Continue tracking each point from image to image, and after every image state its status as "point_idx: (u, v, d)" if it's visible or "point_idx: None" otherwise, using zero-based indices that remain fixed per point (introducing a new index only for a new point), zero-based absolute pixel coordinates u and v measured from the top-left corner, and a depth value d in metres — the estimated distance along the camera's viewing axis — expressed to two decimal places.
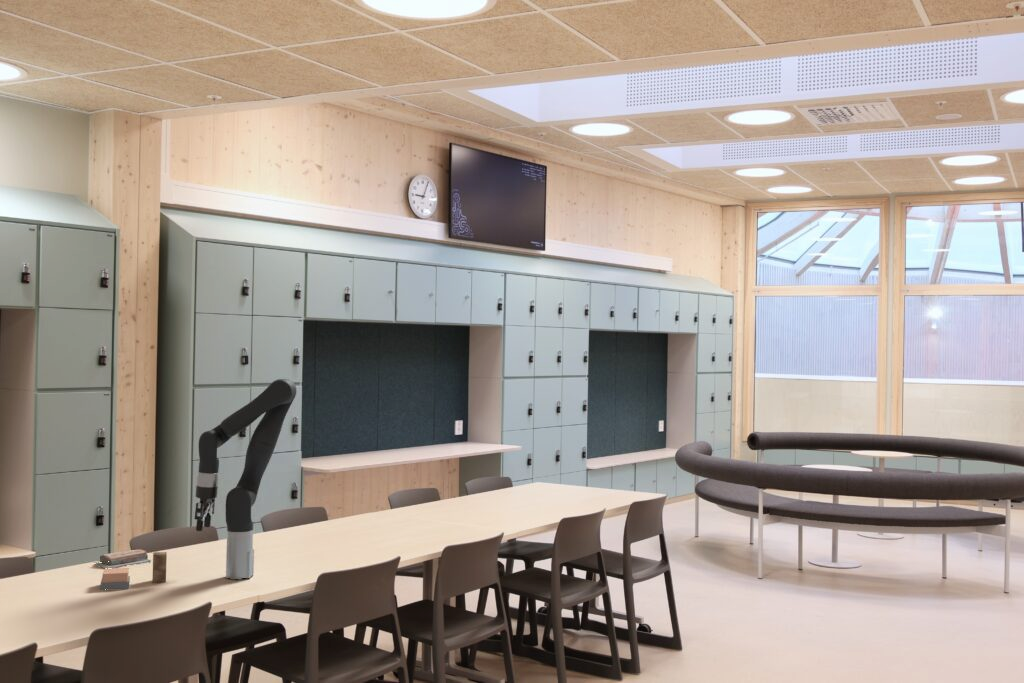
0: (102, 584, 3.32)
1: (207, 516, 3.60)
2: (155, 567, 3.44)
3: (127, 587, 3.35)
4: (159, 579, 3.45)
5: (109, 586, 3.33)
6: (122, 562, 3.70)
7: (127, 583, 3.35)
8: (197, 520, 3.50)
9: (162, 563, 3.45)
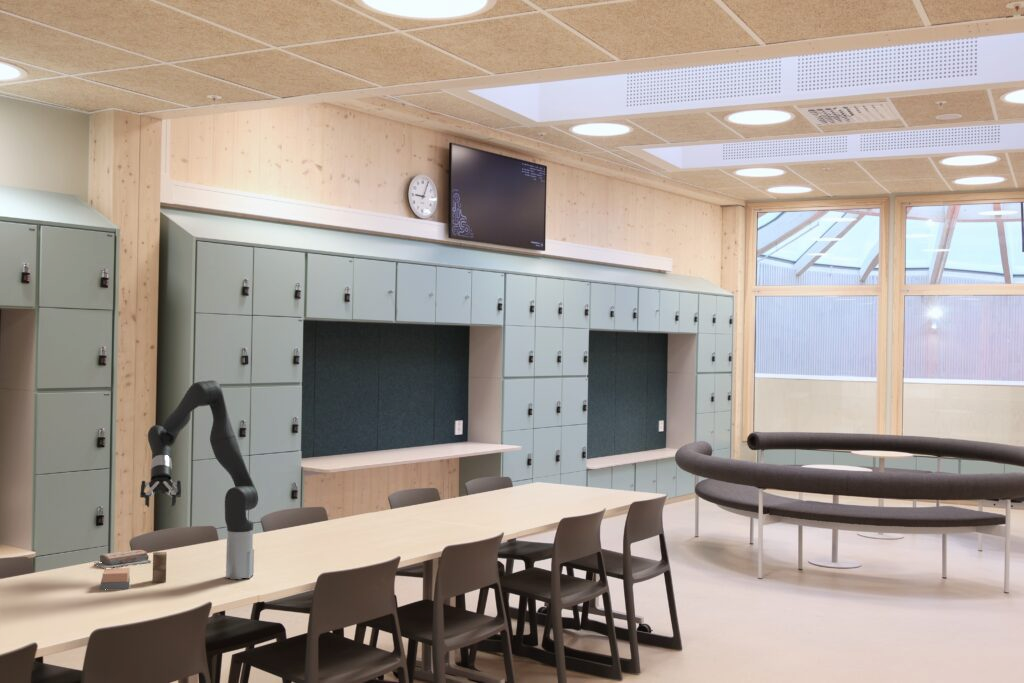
0: (102, 584, 3.32)
1: (172, 496, 3.62)
2: (155, 567, 3.44)
3: (127, 587, 3.35)
4: (159, 579, 3.45)
5: (109, 586, 3.33)
6: (121, 562, 3.69)
7: (127, 583, 3.35)
8: (144, 497, 3.59)
9: (162, 563, 3.45)
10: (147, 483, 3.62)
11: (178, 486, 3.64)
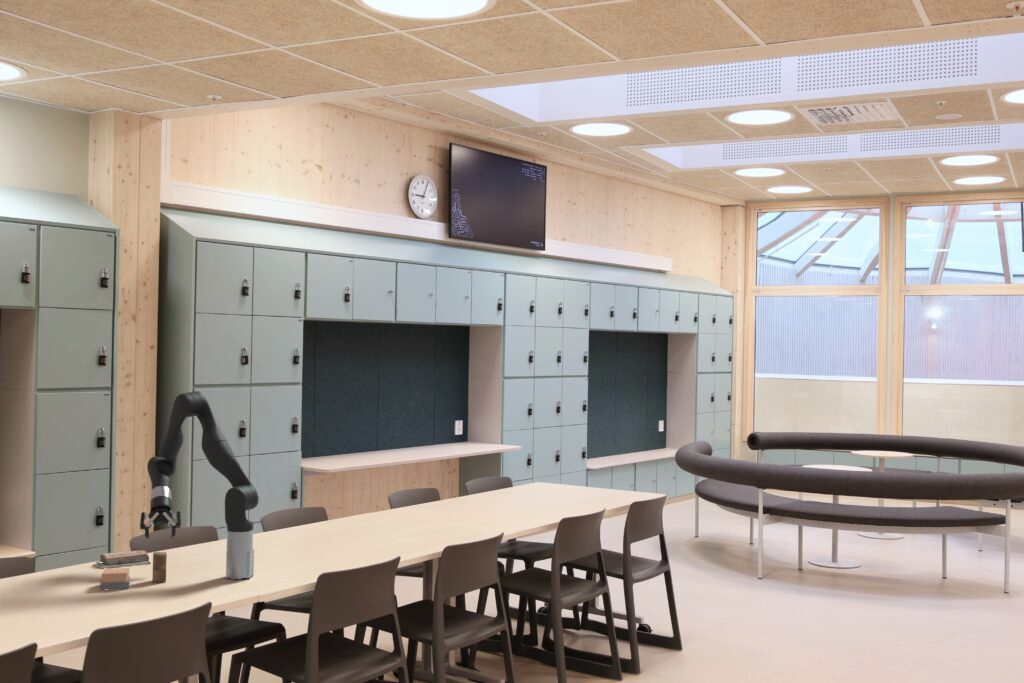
0: (102, 584, 3.32)
1: (171, 527, 3.61)
2: (155, 567, 3.44)
3: (127, 587, 3.35)
4: (159, 579, 3.45)
5: (109, 585, 3.33)
6: (119, 562, 3.69)
7: (127, 583, 3.35)
8: (144, 529, 3.58)
9: (162, 563, 3.45)
10: (147, 515, 3.62)
11: (178, 517, 3.63)
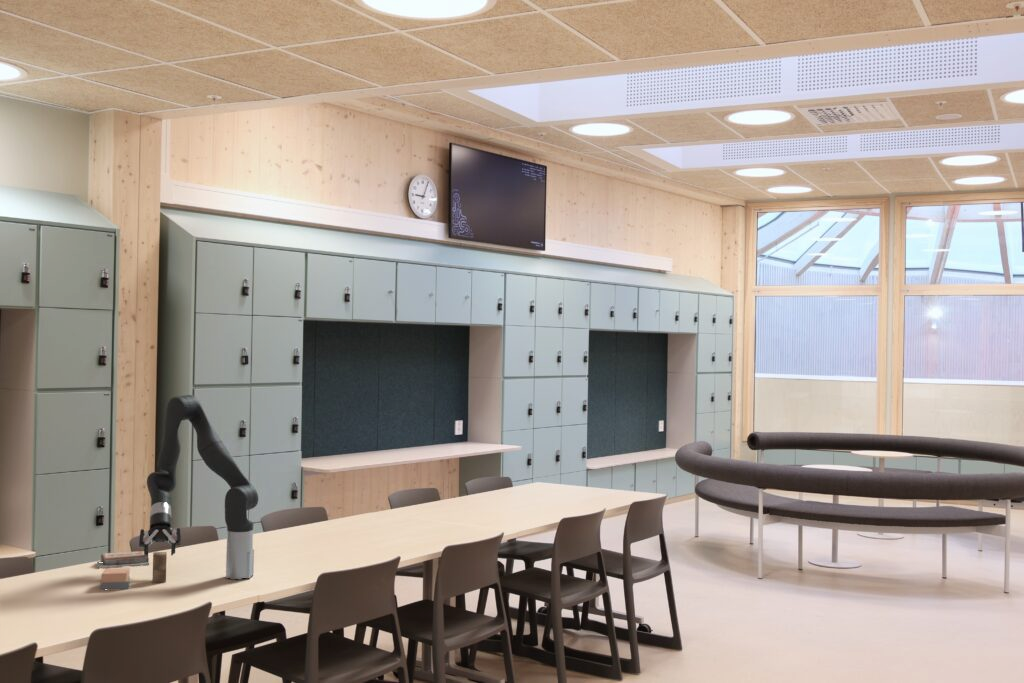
0: (102, 584, 3.32)
1: None
2: (155, 567, 3.44)
3: (127, 587, 3.35)
4: (159, 579, 3.45)
5: (109, 586, 3.33)
6: (117, 563, 3.68)
7: (127, 583, 3.35)
8: (143, 546, 3.52)
9: (162, 563, 3.45)
10: (146, 532, 3.55)
11: (178, 534, 3.57)
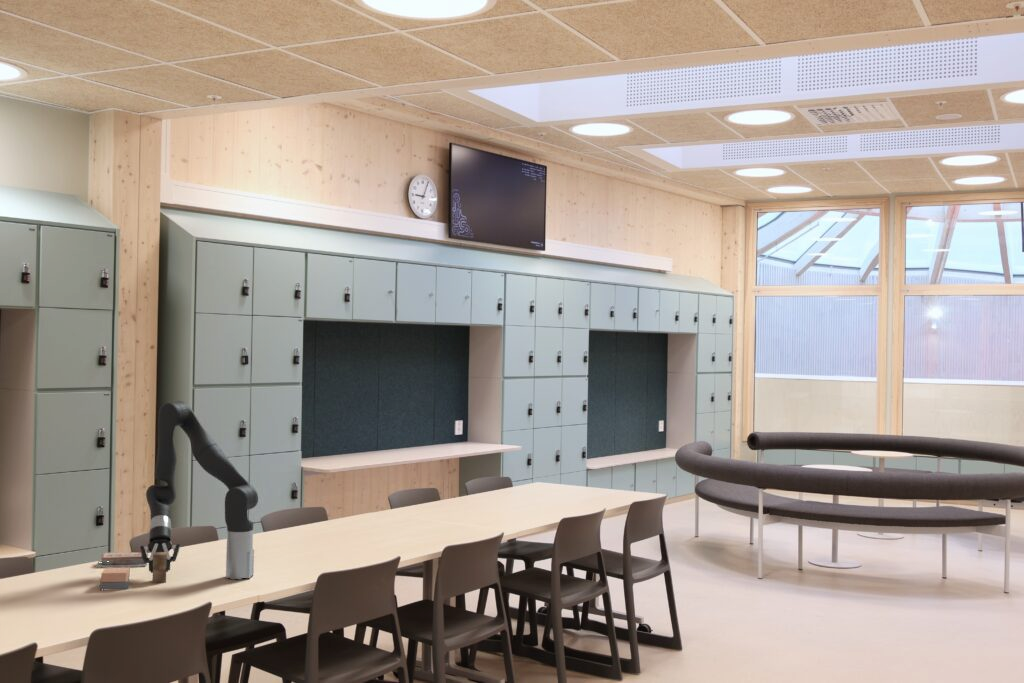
0: (101, 584, 3.32)
1: (166, 561, 3.48)
2: (155, 567, 3.44)
3: (126, 587, 3.35)
4: (159, 579, 3.45)
5: (108, 586, 3.33)
6: (114, 563, 3.68)
7: (126, 583, 3.35)
8: None
9: (162, 563, 3.45)
10: (146, 547, 3.50)
11: (175, 550, 3.51)
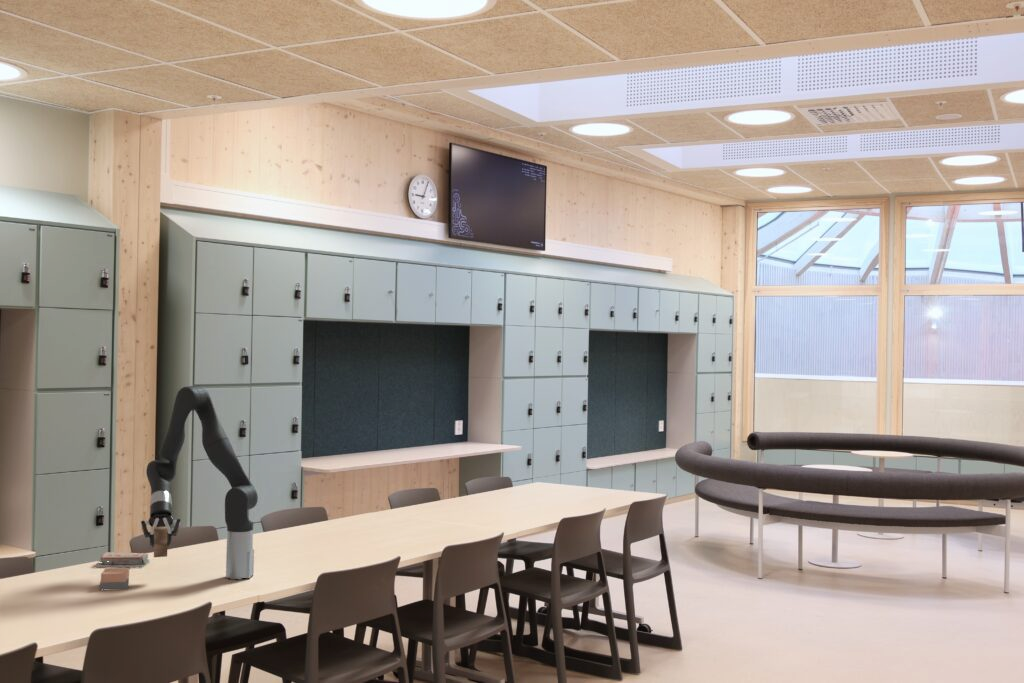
0: (101, 584, 3.32)
1: (167, 535, 3.49)
2: (156, 541, 3.44)
3: (126, 587, 3.35)
4: (160, 553, 3.45)
5: (108, 586, 3.33)
6: (113, 563, 3.68)
7: (126, 583, 3.35)
8: (149, 537, 3.47)
9: (163, 537, 3.45)
10: (147, 522, 3.50)
11: (176, 524, 3.51)
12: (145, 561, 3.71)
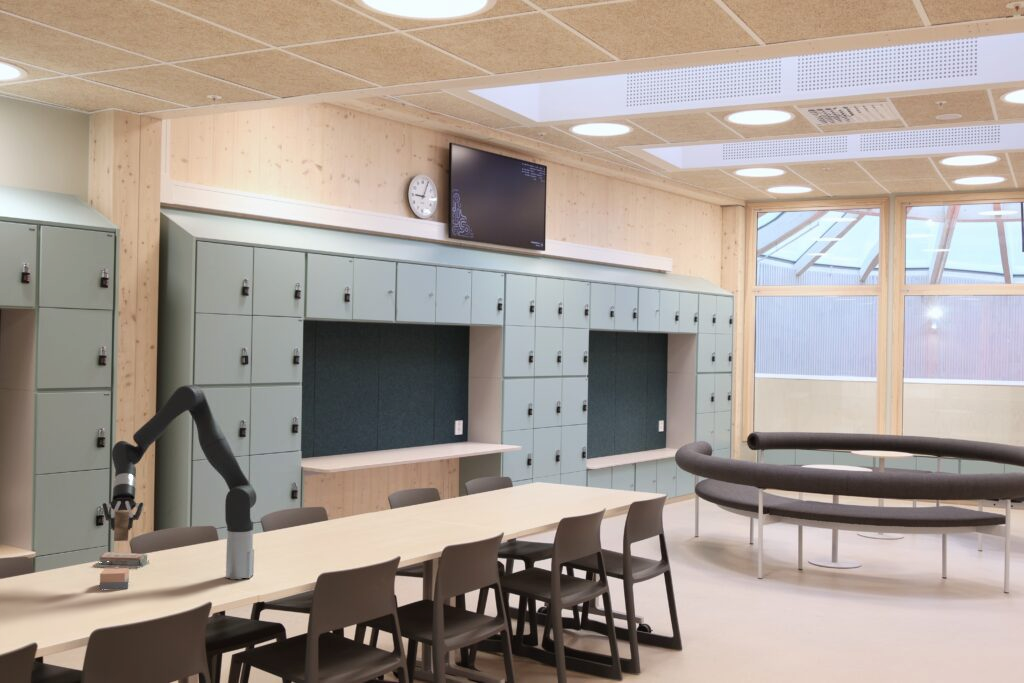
0: (101, 584, 3.32)
1: None
2: (116, 525, 3.37)
3: (126, 587, 3.35)
4: (121, 537, 3.38)
5: (108, 585, 3.33)
6: (111, 563, 3.68)
7: (126, 583, 3.35)
8: (110, 520, 3.40)
9: (124, 520, 3.38)
10: (108, 504, 3.43)
11: (138, 508, 3.44)
12: (143, 562, 3.70)
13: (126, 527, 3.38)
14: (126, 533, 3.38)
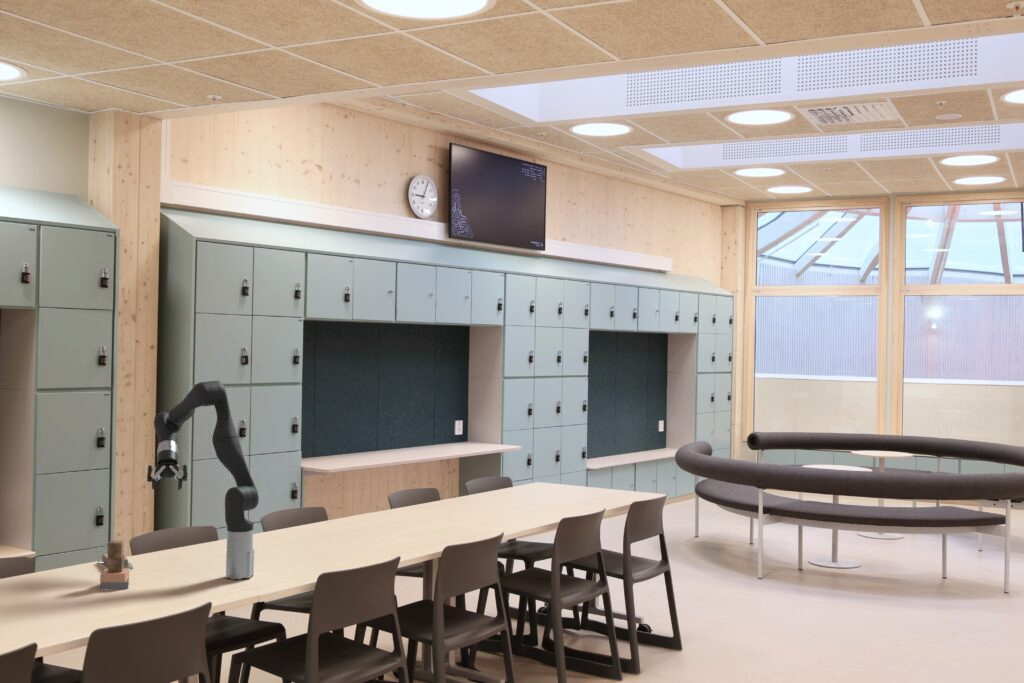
0: (101, 584, 3.32)
1: (178, 480, 3.67)
2: (109, 556, 3.35)
3: (127, 587, 3.35)
4: (114, 568, 3.36)
5: (108, 586, 3.33)
6: (104, 562, 3.69)
7: (126, 583, 3.35)
8: (151, 481, 3.64)
9: (117, 551, 3.36)
10: (154, 468, 3.67)
11: (184, 470, 3.69)
12: None
13: (119, 558, 3.36)
14: (120, 564, 3.36)
